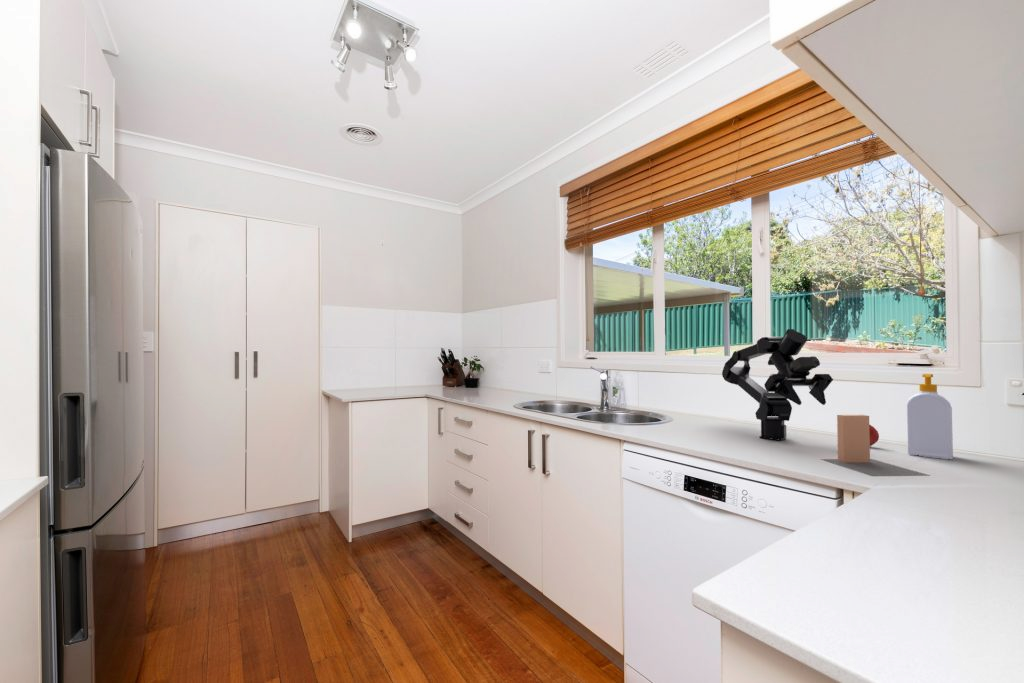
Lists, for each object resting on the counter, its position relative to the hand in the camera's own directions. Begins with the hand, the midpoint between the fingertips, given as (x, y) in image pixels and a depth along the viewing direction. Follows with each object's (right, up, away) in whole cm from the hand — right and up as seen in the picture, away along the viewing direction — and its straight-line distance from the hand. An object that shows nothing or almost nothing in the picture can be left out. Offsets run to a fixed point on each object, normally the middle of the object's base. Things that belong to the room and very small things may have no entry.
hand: (812, 404), depth 130 cm
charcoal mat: (+1, -13, -20) cm, 24 cm away
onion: (+20, -14, +4) cm, 25 cm away
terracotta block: (0, -13, -15) cm, 20 cm away
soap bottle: (+28, -14, -7) cm, 32 cm away
